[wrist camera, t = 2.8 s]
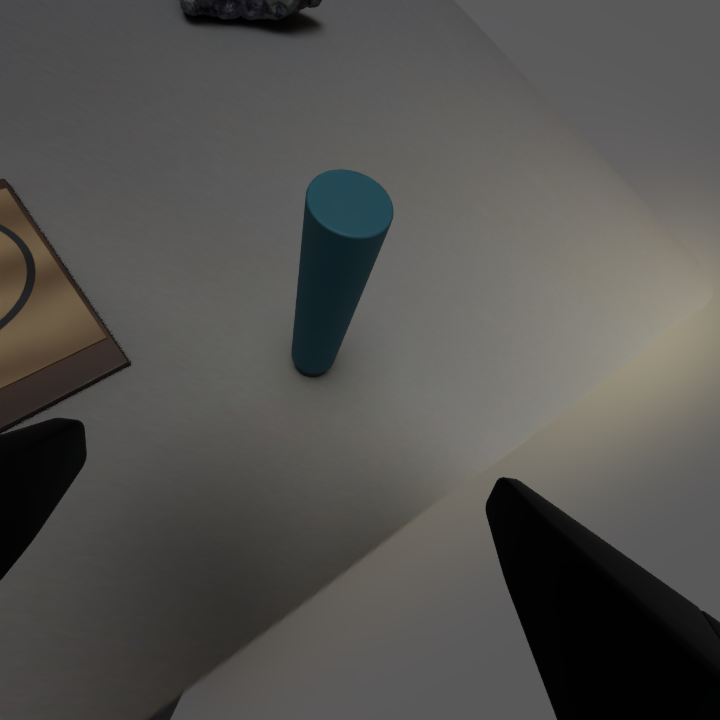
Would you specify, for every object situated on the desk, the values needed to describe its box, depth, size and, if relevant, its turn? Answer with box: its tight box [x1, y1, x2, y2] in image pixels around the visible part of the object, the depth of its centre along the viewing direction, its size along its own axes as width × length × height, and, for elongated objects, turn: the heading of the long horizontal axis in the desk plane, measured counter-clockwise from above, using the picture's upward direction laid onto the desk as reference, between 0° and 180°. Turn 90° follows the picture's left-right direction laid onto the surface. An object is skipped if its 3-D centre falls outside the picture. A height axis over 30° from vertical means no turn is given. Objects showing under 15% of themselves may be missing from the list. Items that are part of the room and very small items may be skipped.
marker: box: [292, 170, 393, 377], centre depth 17 cm, size 3×3×14 cm
